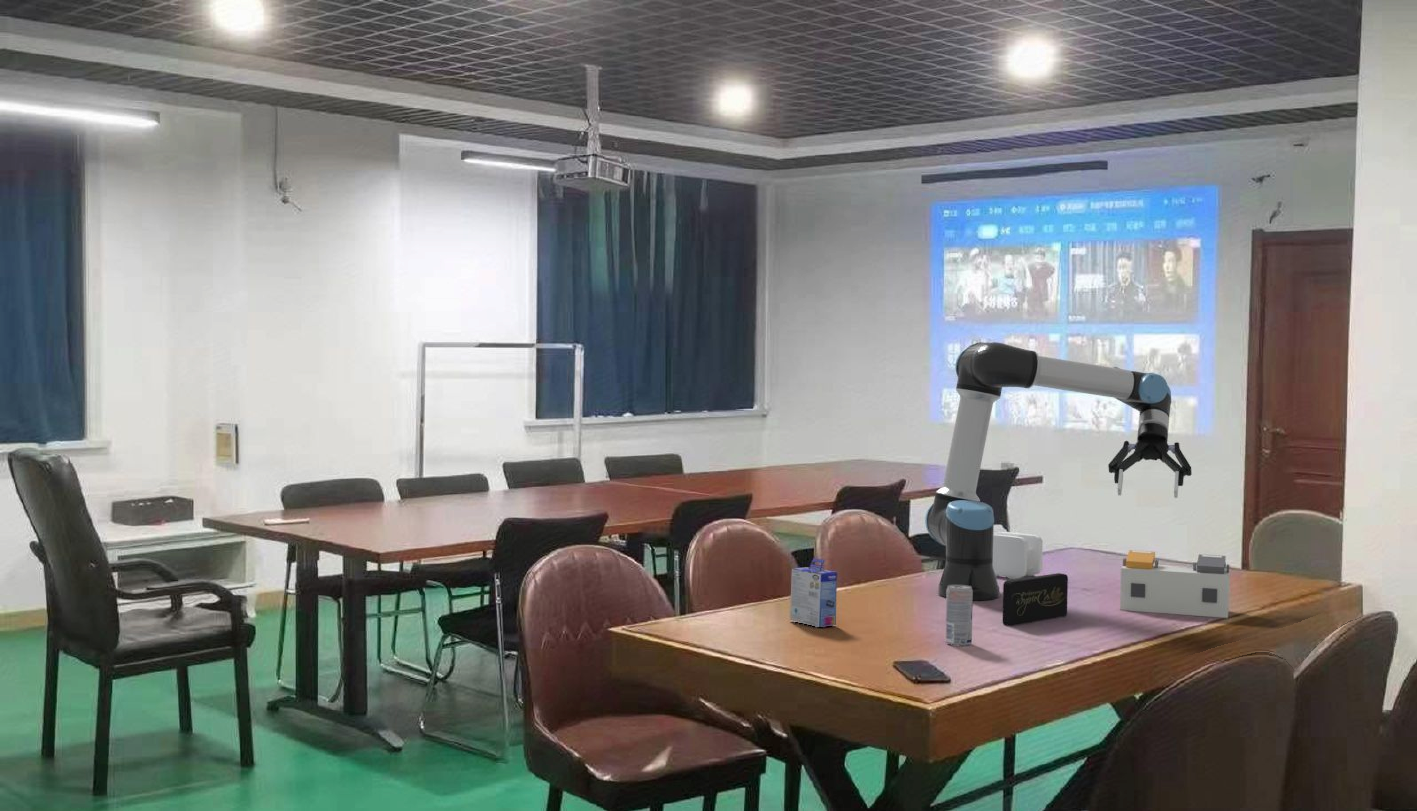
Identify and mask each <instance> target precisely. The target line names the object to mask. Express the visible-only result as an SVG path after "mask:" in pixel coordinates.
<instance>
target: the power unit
mask: <svg viewBox="0 0 1417 811" xmlns="http://www.w3.org/2000/svg"><path fill="white" fill-rule="evenodd" d="M1126 559H1127V557H1123V558H1122V566H1121V568H1120V596H1119V598H1120V600H1119V602H1120V604H1119V605H1120V606H1119V607H1120V609H1119V610H1120V611H1132V612H1144V613H1159V614H1171V615H1182V616H1183V615H1184V616H1193V617H1194V616H1198V617H1210V618H1221V619H1228V618H1229V612H1230V585H1231V584H1230V582H1231V581H1230V580H1231V579H1230V578H1231V576H1230V575H1231V571H1230V570H1231V569H1230V566H1231V565H1230V564H1227V563H1226V567H1225V571H1224V574H1219V573H1204V572H1197V561H1196V562H1193V563H1192V566H1181V565H1165V564H1159V559H1155V562H1154V564H1153V568H1152V569H1143V568H1128V567H1126Z"/></svg>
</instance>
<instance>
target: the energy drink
mask: <svg viewBox="0 0 1417 811" xmlns="http://www.w3.org/2000/svg"><path fill="white" fill-rule="evenodd" d="M945 601H946V603H945V608H946V609H945V643H946V644H947V643H948V644H952V645H959V646H958V647H966V646H965V645H969V646H971V645H972V643H973V641H972V640H973V639H972V638H973V601H974V600H973V591H972V587H971V586H967V585H948V588H947V590H946V597H945ZM948 644H947V645H948ZM952 645H951V646H952Z"/></svg>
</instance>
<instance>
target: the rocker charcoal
mask: <svg viewBox="0 0 1417 811" xmlns="http://www.w3.org/2000/svg"><path fill="white" fill-rule="evenodd" d="M1196 567H1197V572H1204V573H1219V574H1224V571H1225V569H1226V567H1227V563H1226V555H1215V554H1213V555H1212V554H1201V553H1200V554H1198V558H1197V561H1196Z"/></svg>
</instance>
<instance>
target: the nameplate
mask: <svg viewBox="0 0 1417 811" xmlns="http://www.w3.org/2000/svg"><path fill="white" fill-rule="evenodd" d="M1068 583H1069V577H1068V575H1067V574H1066V573H1059V572H1057V573H1051V574H1044V575H1038V576H1036V575H1035V576H1028V577H1021V578H1019V579H1008V580H1005V581H1004V582H1003V585H1002V587H1003V589H1002V624H1003V625H1005V626H1010V627H1013V626H1018V625H1024V624H1030V623H1031V624H1032V623H1035V622H1041V621H1047V620H1053V619H1058V618H1064V617H1066V616H1067V614H1068V594H1069V593H1068V591H1069V590H1068V589H1069V588H1068V587H1069V585H1068Z"/></svg>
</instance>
